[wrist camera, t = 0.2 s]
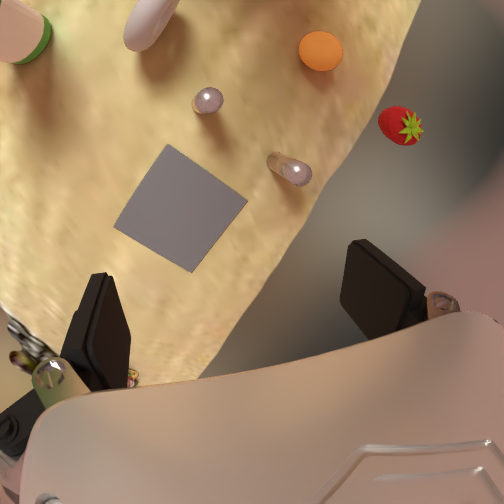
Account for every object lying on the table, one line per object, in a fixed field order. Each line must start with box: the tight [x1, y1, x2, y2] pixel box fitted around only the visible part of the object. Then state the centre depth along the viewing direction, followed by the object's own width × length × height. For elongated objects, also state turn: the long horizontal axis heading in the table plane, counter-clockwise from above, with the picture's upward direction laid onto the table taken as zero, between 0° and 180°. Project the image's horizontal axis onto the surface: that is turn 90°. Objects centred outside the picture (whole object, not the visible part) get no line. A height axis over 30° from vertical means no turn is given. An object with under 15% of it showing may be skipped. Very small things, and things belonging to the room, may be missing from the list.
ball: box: [299, 31, 343, 71], centre depth 32 cm, size 6×6×6 cm
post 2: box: [267, 152, 312, 186], centre depth 37 cm, size 3×3×9 cm
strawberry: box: [378, 106, 424, 145], centre depth 37 cm, size 6×8×10 cm
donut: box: [124, 0, 179, 52], centre depth 24 cm, size 10×3×10 cm, turn 153°
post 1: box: [192, 87, 223, 114], centre depth 31 cm, size 3×3×9 cm
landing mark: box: [114, 144, 247, 273], centre depth 40 cm, size 14×14×1 cm
